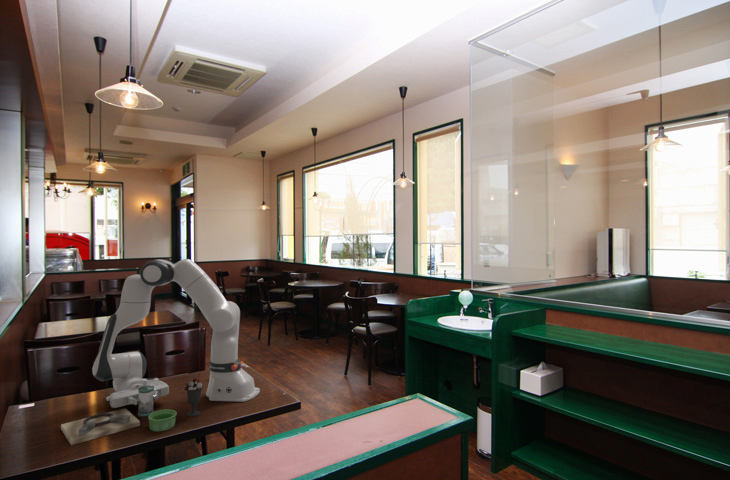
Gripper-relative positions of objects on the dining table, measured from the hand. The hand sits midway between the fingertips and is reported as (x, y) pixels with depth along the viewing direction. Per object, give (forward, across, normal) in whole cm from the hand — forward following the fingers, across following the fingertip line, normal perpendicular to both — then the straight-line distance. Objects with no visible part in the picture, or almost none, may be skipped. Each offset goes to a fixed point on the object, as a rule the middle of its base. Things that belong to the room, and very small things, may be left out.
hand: (146, 400), depth 152 cm
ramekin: (+14, +1, +6) cm, 15 cm away
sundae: (+11, +13, +6) cm, 18 cm away
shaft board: (0, -15, +6) cm, 16 cm away
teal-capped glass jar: (-1, 0, +6) cm, 6 cm away
